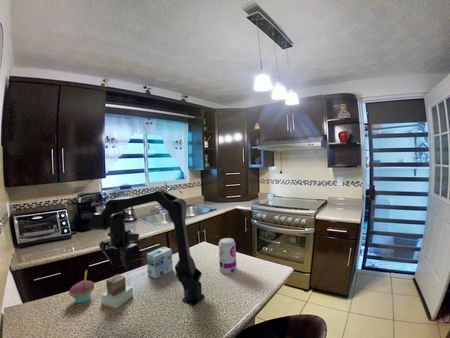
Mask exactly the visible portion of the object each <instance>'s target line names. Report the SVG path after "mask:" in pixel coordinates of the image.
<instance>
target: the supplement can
mask: <svg viewBox="0 0 450 338" xmlns="http://www.w3.org/2000/svg"><path fill="white" fill-rule="evenodd" d="M236 245H237V244H236V242H235V239H234V238H231V237H224V238H221V239H219V241H218V257H219V258H218V259H219V271H220V272H221V273H222V274H224V275H230V274H231V275H232V274H234V273H235V272H236V271H237V268H238V267H237V250H236V249H237V248H236V247H237V246H236Z"/></svg>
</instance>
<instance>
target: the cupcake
mask: <svg viewBox="0 0 450 338" xmlns="http://www.w3.org/2000/svg"><path fill="white" fill-rule="evenodd" d="M87 274H88V269H87V268H86V270H85V271H84V280H81V281H79V282H77V283H74V285H72V286H71V288H70V289H69V292H68V293H69V294H68V295H69V296H70V297H72V298H73V299H74V300H75V303H76V304H81V303H85V302H87V301H89V300H90V298H91V293H92V291H93V290H94V289H95V283H94V281H92V280H87V276H88V275H87Z"/></svg>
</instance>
